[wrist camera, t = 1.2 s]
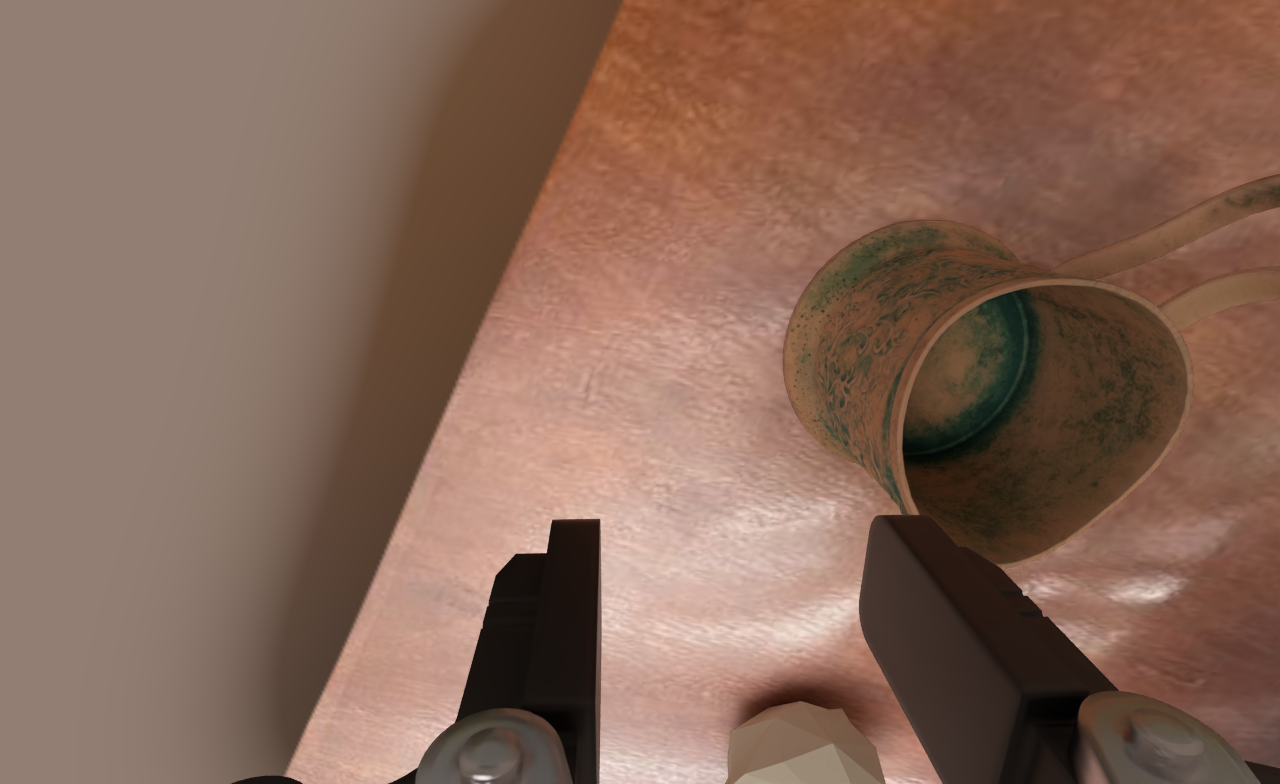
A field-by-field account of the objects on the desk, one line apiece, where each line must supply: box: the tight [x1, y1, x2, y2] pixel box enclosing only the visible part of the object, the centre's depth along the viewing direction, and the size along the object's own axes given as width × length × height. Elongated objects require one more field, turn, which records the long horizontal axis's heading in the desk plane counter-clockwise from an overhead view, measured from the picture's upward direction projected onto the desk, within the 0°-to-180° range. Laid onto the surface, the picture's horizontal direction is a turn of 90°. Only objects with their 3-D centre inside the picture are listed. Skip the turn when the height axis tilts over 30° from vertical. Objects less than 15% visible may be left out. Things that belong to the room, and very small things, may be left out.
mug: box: [783, 174, 1280, 569], centre depth 23 cm, size 12×18×12 cm, turn 131°
